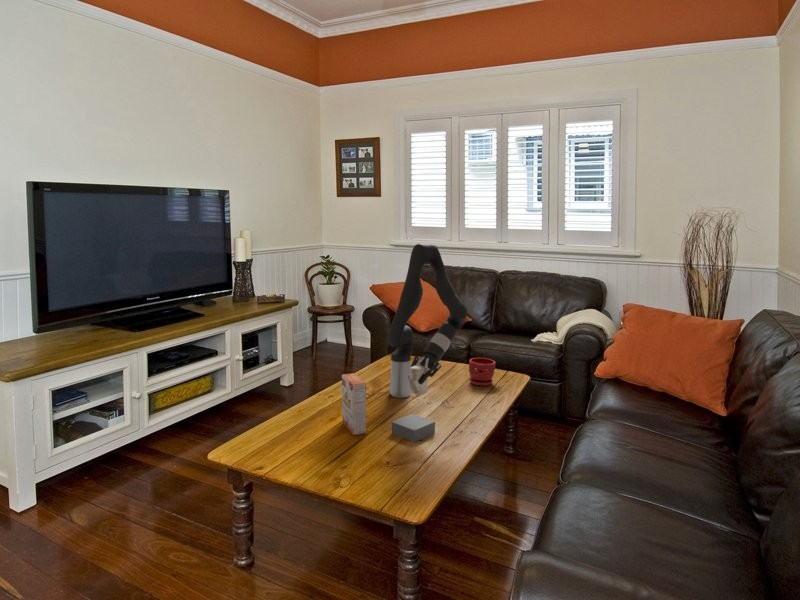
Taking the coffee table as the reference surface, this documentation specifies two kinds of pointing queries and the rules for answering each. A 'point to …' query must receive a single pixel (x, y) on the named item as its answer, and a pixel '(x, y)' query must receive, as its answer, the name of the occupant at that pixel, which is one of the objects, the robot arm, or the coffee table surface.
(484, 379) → the plant pot
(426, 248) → the robot arm
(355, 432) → the cracker box
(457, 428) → the coffee table surface
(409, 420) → the flat gray square
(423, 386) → the taupe block
